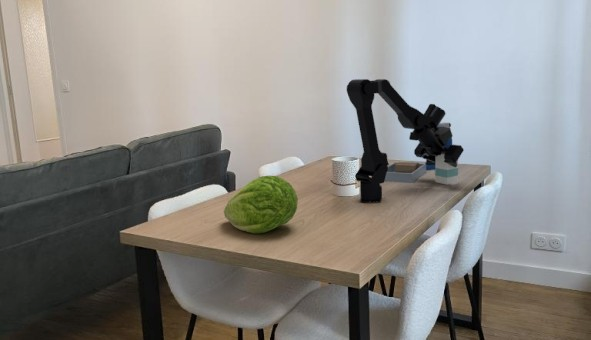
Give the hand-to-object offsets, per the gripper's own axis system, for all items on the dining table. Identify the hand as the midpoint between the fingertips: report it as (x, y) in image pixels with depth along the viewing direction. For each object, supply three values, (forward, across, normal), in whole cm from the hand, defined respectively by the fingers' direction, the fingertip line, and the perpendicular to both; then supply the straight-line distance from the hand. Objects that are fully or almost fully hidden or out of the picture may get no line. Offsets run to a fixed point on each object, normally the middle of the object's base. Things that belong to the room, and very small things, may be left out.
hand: (449, 165), depth 183 cm
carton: (+4, 0, +6) cm, 7 cm away
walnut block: (+4, +21, +5) cm, 22 cm away
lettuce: (-51, -2, +61) cm, 80 cm away
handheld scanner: (+15, +21, -6) cm, 26 cm away
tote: (+1, +18, +9) cm, 20 cm away
